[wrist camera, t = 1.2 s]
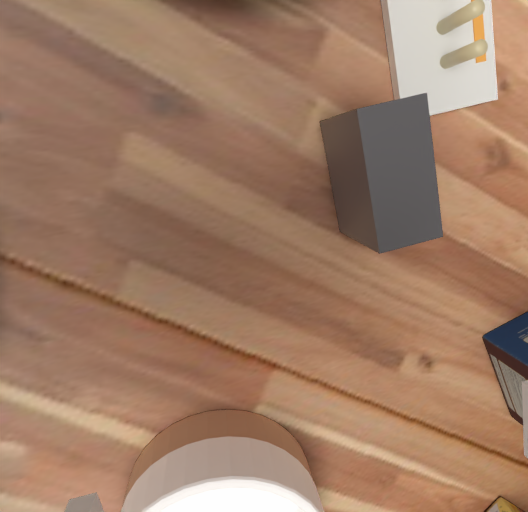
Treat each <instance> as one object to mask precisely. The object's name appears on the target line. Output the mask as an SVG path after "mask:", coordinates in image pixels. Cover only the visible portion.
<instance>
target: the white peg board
mask: <svg viewBox="0 0 528 512" xmlns="http://www.w3.org/2000/svg"><path fill="white" fill-rule="evenodd" d="M381 6H382V13H383V21H384V28H385V36H386V43H387V51H388V58H389V66H390V73H391V81H392V88H393V96H394V100H397V99H402V98H406V97H410V96H414V95H418V94H423V93H427V97H428V106H429V115H430V116H431V115H435V114H439V113H443V112H447V111H451V110H455V109H460V108H464V107H468V106H472V105H476V104H480V103H484V102H489V101H493V100H497V99H498V94H497V79H496V65H495V50H494V35H493V20H492V6H491V0H381Z"/></svg>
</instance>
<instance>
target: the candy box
mask: <svg viewBox="0 0 528 512" xmlns="http://www.w3.org/2000/svg"><path fill="white" fill-rule="evenodd" d="M486 512H524V511H522V510H521V509H519V508H517V507H516V506H514V505H513V504H511V503H510V502H508V501H507V500H505V499H503V498H502V497H500V498H498V499H497V500H496V501H495V502H494V503H493V505H492V506H491V507H490V508H489V509H488V510H487V511H486Z"/></svg>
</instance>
